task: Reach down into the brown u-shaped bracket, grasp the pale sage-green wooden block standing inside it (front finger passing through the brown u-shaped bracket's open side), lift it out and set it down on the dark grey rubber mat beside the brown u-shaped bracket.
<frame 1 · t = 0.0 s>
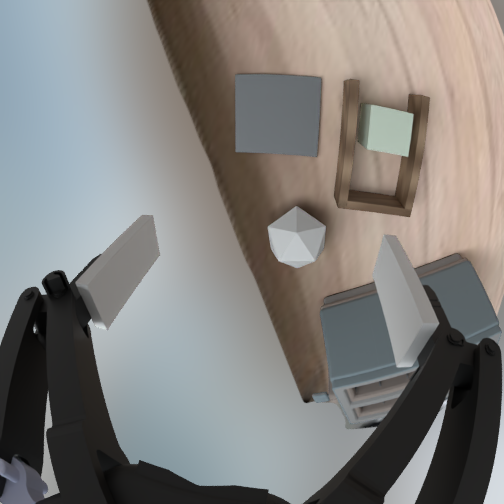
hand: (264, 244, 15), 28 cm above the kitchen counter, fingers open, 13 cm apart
brown u-shaped bracket: (376, 144, 35), on the kitchen counter
toaster: (390, 308, 52), on the kitchen counter
die: (297, 225, 45), on the kitchen counter
block: (378, 125, 34), resting in brown u-shaped bracket
mat: (277, 113, 36), on the kitchen counter
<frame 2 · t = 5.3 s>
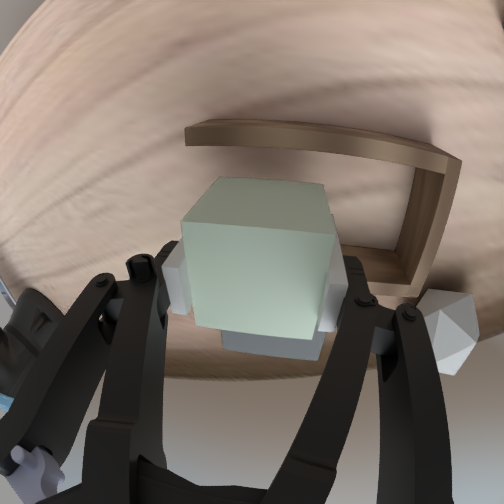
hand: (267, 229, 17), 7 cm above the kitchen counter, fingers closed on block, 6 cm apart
brown u-shaped bracket: (320, 194, 21), on the kitchen counter
die: (432, 305, 25), on the kitchen counter
block: (268, 226, 17), point 6 cm above the kitchen counter, touching gripper
mat: (273, 320, 30), on the kitchen counter
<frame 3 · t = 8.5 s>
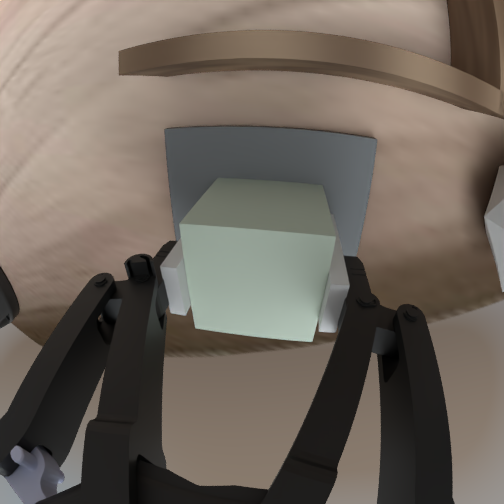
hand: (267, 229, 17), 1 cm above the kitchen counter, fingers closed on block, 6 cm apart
block: (267, 227, 17), point 1 cm above the kitchen counter, touching gripper, mat
mat: (266, 222, 17), on the kitchen counter
when the fingers open (1 cm above the kitchen counter, at t = 9.2 s): block stays where it is, resting on mat.
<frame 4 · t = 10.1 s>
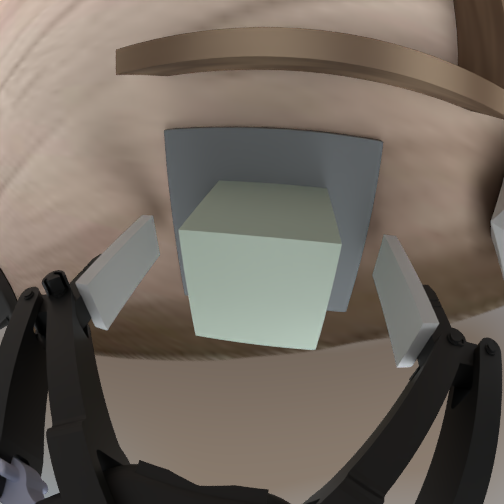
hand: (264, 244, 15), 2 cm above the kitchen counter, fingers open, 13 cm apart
block: (270, 231, 16), point 1 cm above the kitchen counter, touching mat
mat: (268, 226, 17), on the kitchen counter
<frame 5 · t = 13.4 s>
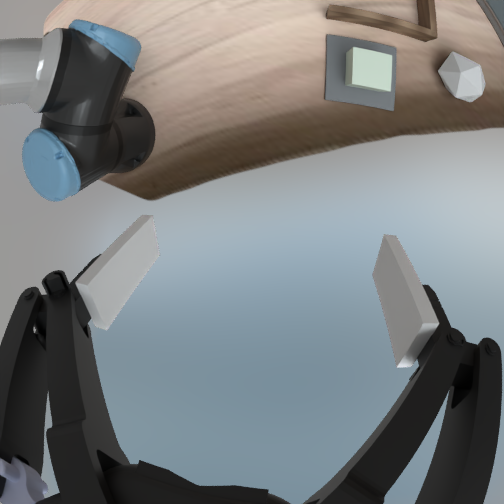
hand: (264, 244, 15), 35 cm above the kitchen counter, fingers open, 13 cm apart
brown u-shaped bracket: (377, 2, 26), on the kitchen counter
die: (451, 77, 31), on the kitchen counter
block: (363, 71, 34), point 1 cm above the kitchen counter, touching mat
mat: (361, 71, 35), on the kitchen counter
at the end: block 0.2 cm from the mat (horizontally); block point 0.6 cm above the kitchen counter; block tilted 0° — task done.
